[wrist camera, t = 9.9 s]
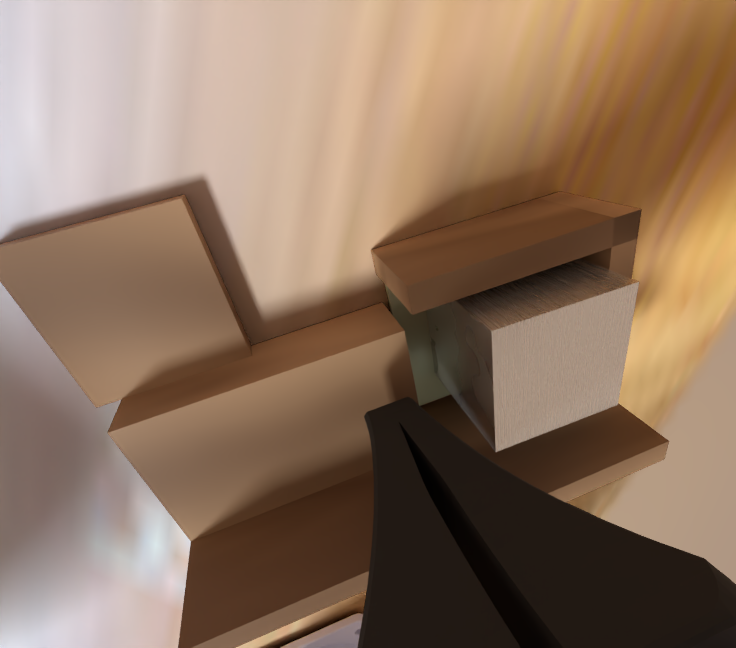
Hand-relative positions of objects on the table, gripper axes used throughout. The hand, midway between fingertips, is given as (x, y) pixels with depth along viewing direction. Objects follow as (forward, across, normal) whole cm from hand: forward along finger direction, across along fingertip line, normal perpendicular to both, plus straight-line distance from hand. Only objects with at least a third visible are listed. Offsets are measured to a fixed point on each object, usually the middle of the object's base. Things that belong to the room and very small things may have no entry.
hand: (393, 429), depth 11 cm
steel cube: (+1, -2, -1) cm, 3 cm away
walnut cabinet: (+3, 0, -2) cm, 4 cm away
